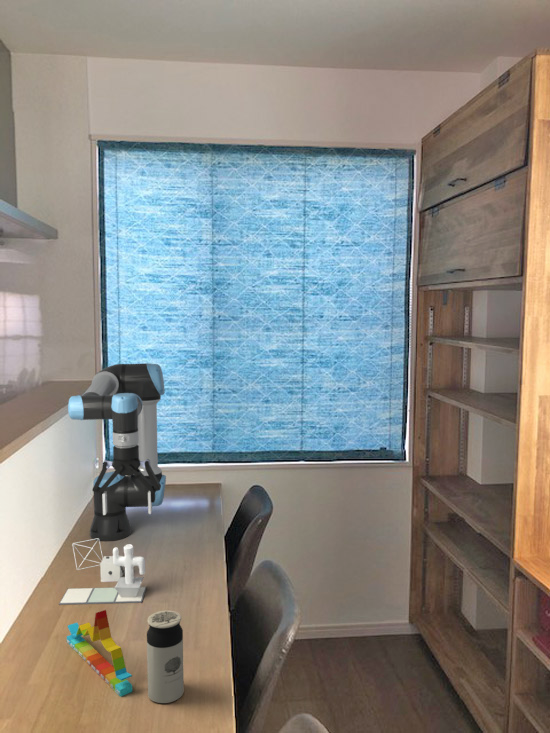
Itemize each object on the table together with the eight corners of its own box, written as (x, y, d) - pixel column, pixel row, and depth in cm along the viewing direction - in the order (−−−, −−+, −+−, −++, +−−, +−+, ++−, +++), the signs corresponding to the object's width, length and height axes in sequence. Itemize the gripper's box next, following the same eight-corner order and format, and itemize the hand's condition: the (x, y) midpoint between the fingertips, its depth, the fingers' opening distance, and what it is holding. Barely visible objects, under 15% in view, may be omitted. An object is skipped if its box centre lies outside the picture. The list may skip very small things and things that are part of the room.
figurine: (143, 599, 193) (142, 550, 191) (111, 599, 193) (109, 550, 191) (147, 588, 200) (146, 541, 199) (116, 588, 200) (115, 541, 198)
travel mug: (144, 688, 150) (142, 613, 148) (178, 680, 153) (177, 606, 151) (152, 708, 143) (151, 629, 141) (187, 699, 146) (186, 622, 144)
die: (104, 574, 212) (104, 555, 211) (124, 573, 212) (124, 554, 211) (100, 582, 205) (99, 563, 205) (121, 582, 206) (120, 562, 205)
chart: (65, 643, 170) (64, 588, 168) (77, 639, 172) (76, 584, 170) (119, 698, 147) (117, 634, 145) (132, 692, 149) (130, 630, 147)
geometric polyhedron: (107, 559, 224) (106, 537, 223) (100, 569, 215) (100, 547, 214) (76, 559, 224) (76, 538, 223) (69, 570, 215) (68, 548, 214)
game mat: (67, 589, 200) (67, 588, 200) (146, 587, 202) (146, 586, 202) (58, 604, 190) (58, 603, 190) (141, 602, 192) (141, 601, 192)
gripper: (80, 448, 192) (83, 518, 195) (166, 447, 193) (167, 516, 196) (86, 442, 199) (88, 509, 202) (168, 441, 201) (170, 507, 203)
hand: (127, 513), depth 199 cm, fingers open, 13 cm apart
